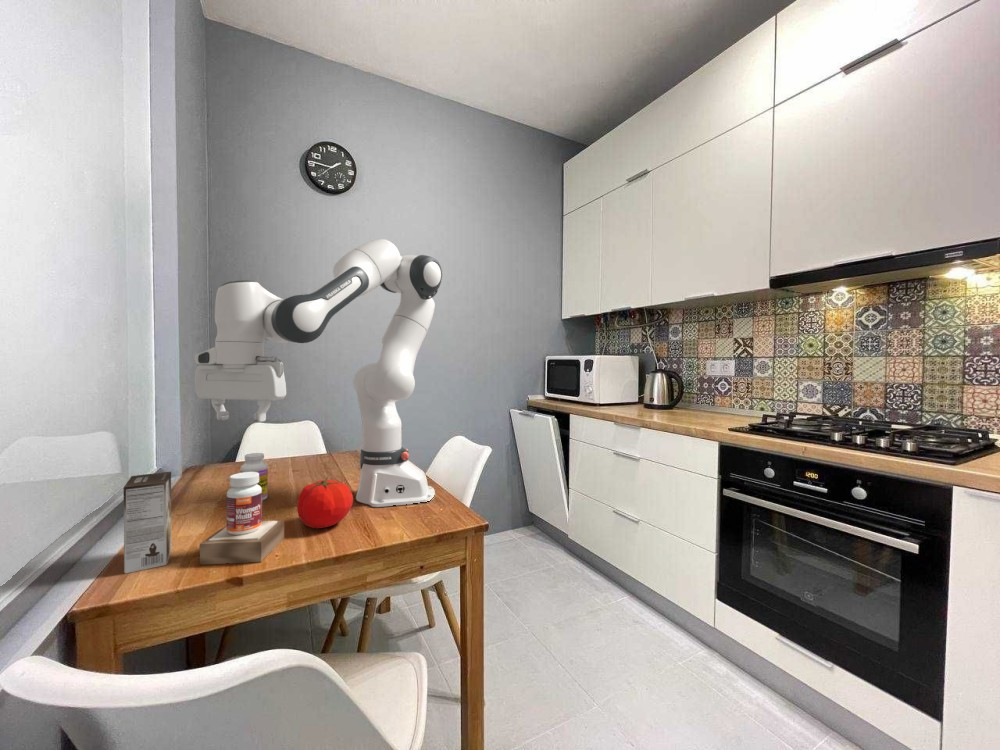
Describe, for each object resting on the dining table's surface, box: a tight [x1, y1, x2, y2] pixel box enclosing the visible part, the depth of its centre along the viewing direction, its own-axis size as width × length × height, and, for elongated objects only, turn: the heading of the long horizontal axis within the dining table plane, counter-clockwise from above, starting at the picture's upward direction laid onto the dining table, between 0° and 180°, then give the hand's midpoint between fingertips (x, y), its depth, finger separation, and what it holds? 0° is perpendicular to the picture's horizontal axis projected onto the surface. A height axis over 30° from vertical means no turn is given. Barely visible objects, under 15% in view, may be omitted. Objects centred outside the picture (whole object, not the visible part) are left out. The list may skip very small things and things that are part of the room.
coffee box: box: [123, 471, 173, 574], centre depth 79 cm, size 9×6×16 cm
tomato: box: [296, 476, 354, 529], centre depth 98 cm, size 13×12×11 cm
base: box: [199, 520, 285, 566], centre depth 84 cm, size 11×11×4 cm
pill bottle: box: [225, 472, 263, 535], centre depth 84 cm, size 6×6×11 cm
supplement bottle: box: [239, 452, 269, 502], centre depth 115 cm, size 7×7×13 cm
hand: (241, 420), depth 88 cm, fingers open, 8 cm apart
